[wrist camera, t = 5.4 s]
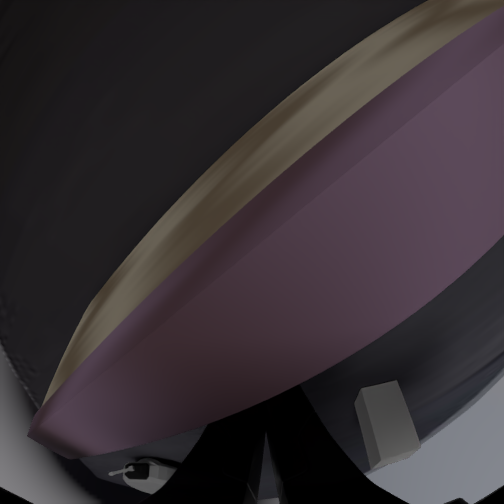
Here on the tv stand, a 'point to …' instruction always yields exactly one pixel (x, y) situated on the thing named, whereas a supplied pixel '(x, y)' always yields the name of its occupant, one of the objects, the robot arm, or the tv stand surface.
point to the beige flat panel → (299, 238)
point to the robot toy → (146, 474)
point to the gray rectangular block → (385, 424)
